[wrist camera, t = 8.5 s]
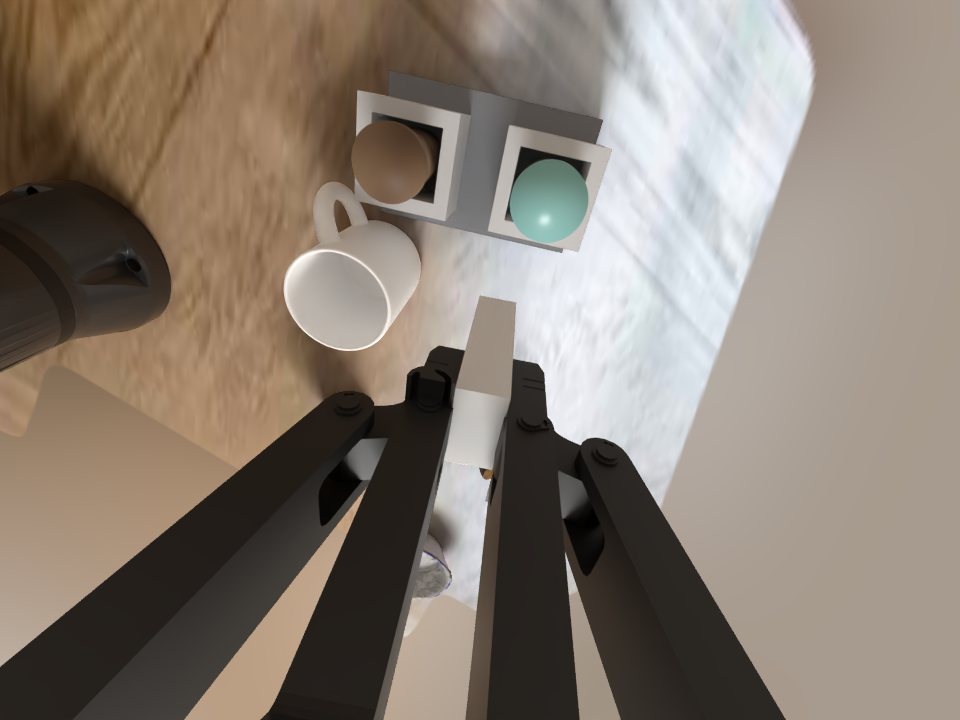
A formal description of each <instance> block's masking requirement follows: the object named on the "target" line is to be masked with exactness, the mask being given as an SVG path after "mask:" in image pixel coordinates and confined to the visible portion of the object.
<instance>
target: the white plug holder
mask: <svg viewBox="0 0 960 720" xmlns="http://www.w3.org/2000/svg"><path fill="white" fill-rule="evenodd" d="M377 121H395V122H399V123H401V124H404V125H406V126H407V127H409V128H415V127H420V128H424V129H427V130H429V131H430V132H432V133H433V134H434V135H435V136H436V137H437V138H438V140H439V142H440V143H441V150H440V158H439V165H438V173H437V175H436V176H435V177H434V178H433V179H431V180H429V181H428V182H426V183H425V184H424V186H423V188H422V189H421V190H420V192H419V193H418V194H417V195H415V196H414V197H413V198H411V199H409V200H408V201H406V202H403V203H400V204H385V203H382V202H379V201H377V200H375V199H374V198H372V197H371V196H369V195H368V194H367V193H366V192H365V191H364V190H363V189H362V187H361V186H360V184H359V183H358V181H357V179H356V177H355V193H354V200H355V201H360V202H364V203H368V204H373V205H377V206H381V211H383V212H387V213H391V214H395V215H400V216H404V217H408V218H413V219H417V220H421V221H426V222H430V223H434V224H439V225H443V226H447V227H452V228H456V229H460V230H465V231H469V232H473V233H478V234H482V235H486V236H491V237H495V238H499V239H504V240H508V241H512V242H517V243H521V244H525V245H530V246H534V247H538V248H543V249H547V250H551V251H555V252H560V253H562V251H563V249H567V250H572V251H576V252H578V251H579V248H580V245H581V242H582V239H583V236H584V233H585V230H586V227H587V224H588V221H589V218H590V215H591V212H592V209H593V206H594V203H595V200H596V197H597V194H598V191H599V188H600V185H601V182H602V179H603V176H604V173H605V169H606V166H607V163H608V160H609V157H610V154H611V151H612V149H610V148H607V147H604V146H601V145H596V142H597V138H598V135H599V132H600V129H601V125H602V122H603V120H601V119H597V118H593V117H589V116H584V115H580V114H576V113H571V112H567V111H563V110H559V109H554V108H550V107H546V106H541V105H537V104H533V103H528V102H524V101H520V100H516V99H511V98H507V97H503V96H498V95H494V94H490V93H486V92H481V91H477V90H473V89H468V88H464V87H460V86H455V85H451V84H447V83H443V82H438V81H434V80H430V79H425V78H421V77H417V76H413V75H408V74H404V73H400V72H395V71H391V70H389V83H388V96H386V95H381V94H376V93H371V92H365V91H360V90H357V123H356V137H357V135H358V134H359V132H360V131H361V130H362V129H363V128H364V127H366V126H367V125H369V124H371V123H373V122H377ZM542 158H552V159H556V160H561V161H564V162H566V163H568V164H570V165H571V166H573V167H574V168H575V169H576V170H577V171H578V172H579V173H580V175H581V176H582V178H583V179H584V181H585V184H586V186H587V190H588V208H587V212H586V215H585V217H584V219H583V221H582V223H581V224H580V226H579V227H578V228H577V229H576V230H575V231H574V232H573V233H572V234H571V235H569V236H568V237H566V238H564V239H562V240H560V241H557V242H552V243H541V242H537V241H533V240H531V239H529V238H527V237H526V236H524V235H523V234H522V233H521V232H520V231H519V230H518V228H517V227H516V225H515V224H514V222H513V219H512V216H511V212H510V197H511V193H512V189H513V186H514V184H515V182H516V180H517V178H518V177H519V176H520V174H521V173H522V172H523V171H524V170H525V169H526V168H527V167H528V166H529V165H530V164H531V163H533V162H534V161H536V160H538V159H542Z"/></svg>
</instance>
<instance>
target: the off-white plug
mask: <svg viewBox="0 0 960 720" xmlns="http://www.w3.org/2000/svg"><path fill="white" fill-rule="evenodd" d="M587 208H588V190H587V186H586V184H585V181H584V179H583V178H582V176H581V175H580V173H579V172H578V171H577V170H576V169H575V168H574V167H573V166H571V165H570V164H568V163H566V162H564V161H561V160H556V159H552V158H542V159H538V160H536V161H534V162H533V163H531V164H530V165H529V166H528V167H527V168H526V169H525V170H524V171H523V172H522V173H521V174H520V176H519V177H518V178H517V180H516V182H515V184H514V186H513V189H512V193H511V197H510V212H511V216H512V219H513V222H514V224H515V225H516V227H517V228H518V230H519V231H520V232H521V233H522V234H523V235H524V236H526V237H527V238H529V239H531V240H533V241H537V242H541V243H552V242H557V241H560V240H562V239H564V238H566V237H568V236H569V235H571V234H572V233H573V232H574V231H575V230H576V229H577V228H578V227H579V226H580V224H581V223H582V221H583V219H584V217H585V215H586V212H587Z"/></svg>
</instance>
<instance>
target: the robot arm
mask: <svg viewBox="0 0 960 720" xmlns="http://www.w3.org/2000/svg"><path fill="white" fill-rule="evenodd" d="M170 292H171V284H170V277H169V272H168V269H167V266H166V263H165V260H164V258H163V256H162V254H161V252H160V250H159V248H158V246H157V245H156V243H155V242H154V240H153V239H152V237H151V236H150V234H149V233H148V232H147V231H146V229H145V228H144V227H143V226H142V225H141V223H140V222H139V221H138V220H137V219H136V218H135V217H134V216H133V215H132V214H131V213H130V212H128V211H127V210H126V209H125V208H124V207H123V206H121V205H120V204H119V203H117V202H116V201H115V200H113V199H112V198H110V197H108V196H107V195H105V194H103V193H102V192H100V191H98V190H96V189H94V188H92V187H89V186H87V185H84V184H81V183H77V182H73V181H68V180H50V181H42V182H34V183H28V184H24V185H21V186H18V187H16V188H14V189H12V190H10V191H8V192H6V193H5V194H3V195H1V196H0V373H1V372H3V371H5V370H7V369H9V368H11V367H13V366H16V365H18V364H20V363H22V362H24V361H26V360H28V359H30V358H32V357H34V356H37V355H39V354H41V353H43V352H45V351H47V350H49V349H51V348H53V347H55V346H57V345H59V344H62V343H64V342H66V341H68V340H71V339H78V338H84V337H91V336H98V335H104V334H109V333H115V332H123V331H129V330H132V329H135V328H138V327H140V326H142V325H144V324H146V323H148V322H150V321H152V320H154V319H155V318H157V317H158V316H160V315H161V314H162V313H163V311H164V310H165V309H166V307H167V305H168V302H169V299H170ZM515 313H516V303H515V302H510V301H505V300H500V299H495V298H490V297H485V296H480V297H479V301H478V304H477V308H476V312H475V316H474V320H473V323H472V327H471V331H470V335H469V338H468V342H467V346H466V350H465V351H464V350H459V349H454V348H449V347H444V346H438V347H436V348H435V349H433V350H432V351H430V353H429V356H428V358H427V361H426V363H425V365H424V366H421V367H417V368H415V369H413V370H411V371H410V372H409V373H408V374H407V383H406V395H405V401H404V402H402V403H399V404H395V405H388V406H374V402H373V401H372V399H371V398H370V397H369V396H367V395H365V394H363V393H359V392H355V391H344V392H340V393H336V394H333V395H332V396H330V397H328V398H326V399H325V400H324V401H323V402H322V403H320V404H319V405H318V406H317V407H316V408H314V409H313V410H312V411H311V412H309V413H308V414H307V415H306V416H305V417H303V418H302V419H301V420H300V421H299V422H297V423H296V424H295V425H294V426H292V427H291V428H290V429H289V430H288V431H286V432H285V433H284V434H283V435H282V436H280V437H279V438H278V439H277V440H275V441H274V442H273V443H272V444H271V445H269V446H268V447H267V448H266V449H265V450H263V451H262V452H261V453H260V454H258V455H257V456H256V457H255V458H254V459H252V460H251V461H250V462H249V463H247V464H246V465H245V466H244V467H243V468H241V469H240V470H239V471H238V472H237V473H235V474H234V475H233V476H232V477H230V479H228V480H227V481H226V482H224V483H223V484H222V485H221V486H220V487H218V488H217V489H216V490H215V491H213V492H212V493H211V494H210V495H209V496H207V497H206V498H205V499H204V500H203V501H201V502H200V503H199V504H198V505H196V506H195V507H194V508H193V509H192V510H190V511H189V512H188V513H187V514H186V515H184V516H183V517H182V518H181V519H179V520H178V521H177V522H176V523H175V524H173V525H172V526H171V527H170V528H169V529H168V530H166V531H165V532H164V533H162V534H161V535H160V536H159V537H158V538H156V539H155V540H154V541H153V542H151V543H150V544H149V545H148V546H147V547H146V548H144V549H143V550H142V551H141V552H139V553H138V554H137V555H136V556H134V557H133V558H132V559H131V560H130V561H128V562H127V563H126V564H125V565H124V566H122V567H121V568H120V569H119V570H117V571H116V572H115V573H114V574H113V575H111V576H110V577H109V578H108V579H107V580H105V581H104V582H103V583H102V584H100V585H99V586H98V587H97V588H96V589H95V590H93V591H92V592H91V593H90V594H88V595H87V596H86V597H85V598H83V599H82V600H81V601H80V602H79V603H77V604H76V605H75V606H74V607H73V608H71V609H70V610H69V611H68V612H66V613H65V614H64V615H63V616H62V617H60V618H59V619H58V620H57V621H56V622H55V623H53V624H52V625H51V626H49V627H48V628H47V629H46V630H45V631H43V632H42V633H41V634H40V635H39V636H37V637H36V638H35V639H34V640H32V641H31V642H30V643H29V644H28V645H27V646H25V647H24V648H23V649H22V650H21V651H19V652H18V653H17V654H15V655H14V656H13V657H12V658H11V659H9V660H8V661H7V662H6V663H5V664H3V665H2V666H1V667H0V720H184V719H185V718H186V716H187V715H188V714H189V713H190V711H191V710H192V709H193V707H194V706H195V705H196V704H197V702H198V701H199V700H200V698H201V697H202V696H203V695H204V693H205V692H206V691H207V690H208V688H209V687H210V686H211V685H212V683H213V682H214V680H215V679H216V678H217V677H218V676H219V674H220V673H221V672H222V671H223V669H224V668H225V667H226V665H227V664H228V663H229V662H230V660H231V659H232V658H233V656H234V655H235V654H236V653H237V651H238V650H239V649H240V648H241V646H242V645H243V644H244V642H245V641H246V640H247V639H248V637H249V636H250V635H251V634H252V632H253V631H254V630H255V628H256V627H257V626H258V625H259V623H260V622H261V621H262V620H263V618H264V617H265V616H266V615H267V613H268V612H269V611H270V609H271V608H272V607H273V606H274V604H275V603H276V602H277V601H278V599H279V598H280V597H281V595H282V594H283V593H284V591H285V590H286V589H287V588H288V587H289V585H290V584H291V583H292V581H293V580H294V579H295V578H296V576H297V575H298V574H299V573H300V571H301V570H302V569H303V567H304V566H305V565H306V564H307V562H308V561H309V560H310V558H311V557H312V556H313V555H314V553H315V552H316V551H317V550H318V548H319V547H320V545H322V543H323V542H324V541H325V539H326V538H327V537H328V536H329V534H330V533H331V532H332V531H333V529H334V528H335V527H336V525H337V524H338V523H339V522H340V520H341V519H342V518H343V516H344V515H345V514H346V513H347V511H348V510H349V509H350V508H351V506H352V505H353V504H354V502H355V501H356V500H357V499H358V497H359V496H360V495H361V494H362V492H363V491H364V490H365V488H366V487H367V486H368V487H367V489H366V491H365V494H364V496H363V498H362V501H361V503H360V505H359V508H358V510H357V512H356V515H355V517H354V519H353V522H352V524H351V526H350V529H349V531H348V533H347V536H346V538H345V540H344V543H343V545H342V547H341V550H340V552H339V554H338V557H337V559H336V561H335V564H334V566H333V568H332V571H331V573H330V575H329V577H328V580H327V582H326V585H325V587H324V589H323V591H322V594H321V596H320V598H319V601H318V603H317V605H316V608H315V610H314V613H313V615H312V617H311V619H310V622H309V624H308V627H307V629H306V631H305V633H304V636H303V638H302V640H301V643H300V645H299V647H298V650H297V652H296V654H295V657H294V659H293V661H292V664H291V666H290V668H289V671H288V673H287V675H286V678H285V680H284V682H283V684H282V687H281V689H280V692H279V694H278V696H277V698H276V700H275V702H274V704H273V705H272V707H271V709H270V710H269V712H268V713H267V714H266V715H265V716H264V717H263V718H262V719H261V720H383V718H384V714H385V710H386V706H387V701H388V697H389V693H390V689H391V685H392V680H393V676H394V672H395V668H396V664H397V659H398V655H399V651H400V647H401V642H402V638H403V634H404V630H405V625H406V621H407V617H408V613H409V609H410V604H411V600H412V596H413V592H414V587H415V583H416V579H417V575H418V570H419V566H420V562H421V558H422V554H423V549H424V545H425V541H426V537H427V532H428V528H429V524H430V520H431V515H432V511H433V507H434V503H435V499H436V494H437V490H438V486H439V482H440V477H441V473H442V467H443V461H448V462H454V463H459V464H464V465H469V466H474V467H479V468H484V469H489V470H492V469H493V474H492V478H491V482H490V485H489V489H488V493H487V497H486V500H485V501H487V502H488V507H487V517H486V526H485V536H484V546H483V555H482V565H481V575H480V585H479V594H478V604H477V614H476V624H475V633H474V643H473V653H472V663H471V672H470V682H469V691H468V701H467V710H466V720H579V708H578V697H577V685H576V673H575V662H574V651H573V640H572V628H571V617H570V605H569V593H568V582H567V570H566V559H565V552H566V555H567V558H568V561H569V564H570V567H571V570H572V573H573V576H574V579H575V582H576V585H577V588H578V591H579V594H580V597H581V600H582V603H583V606H584V609H585V613H586V615H587V619H588V621H589V624H590V628H591V631H592V633H593V637H594V640H595V643H596V646H597V649H598V652H599V654H600V658H601V661H602V664H603V667H604V670H605V673H606V676H607V679H608V682H609V685H610V688H611V691H612V694H613V697H614V700H615V703H616V706H617V709H618V712H619V715H620V718H621V720H786V719H785V718H784V716H783V714H782V712H781V711H780V709H779V707H778V706H777V704H776V702H775V701H774V699H773V697H772V696H771V694H770V692H769V691H768V689H767V687H766V686H765V684H764V683H763V681H762V679H761V677H760V676H759V674H758V673H757V671H756V669H755V667H754V666H753V664H752V662H751V661H750V659H749V657H748V656H747V654H746V652H745V651H744V649H743V647H742V646H741V644H740V642H739V641H738V639H737V637H736V635H735V634H734V632H733V631H732V629H731V627H730V626H729V624H728V622H727V621H726V619H725V617H724V615H723V614H722V612H721V610H720V609H719V607H718V606H717V604H716V602H715V601H714V599H713V597H712V595H711V594H710V592H709V590H708V589H707V587H706V585H705V584H704V582H703V580H702V579H701V577H700V575H699V574H698V572H697V570H696V569H695V567H694V565H693V564H692V562H691V560H690V559H689V557H688V555H687V554H686V552H685V550H684V548H683V547H682V545H681V543H680V542H679V540H678V538H677V537H676V535H675V533H674V532H673V530H672V529H671V527H670V525H669V523H668V522H667V520H666V519H665V517H664V515H663V513H662V512H661V510H660V508H659V507H658V505H657V503H656V502H655V500H654V498H653V497H652V495H651V493H650V492H649V490H648V488H647V487H646V485H645V483H644V482H643V480H642V478H641V477H640V475H639V473H638V471H637V470H636V468H635V466H634V465H633V463H632V461H631V460H630V458H629V456H628V455H627V454H626V453H625V452H624V450H623V449H622V448H620V447H619V446H618V445H616V444H615V443H613V442H610V441H608V440H606V439H601V438H589V439H587V440H585V441H584V442H582V445H578V444H576V443H574V442H571V441H569V440H567V439H565V438H563V437H561V436H560V435H559V434H557V433H556V432H555V431H554V427H553V424H552V422H551V421H550V419H549V418H548V417H547V406H546V392H545V384H544V383H545V378H544V372H543V371H542V369H541V368H540V366H539V365H538V364H536V363H531V362H525V361H520V360H515V359H513V349H514V331H515ZM493 465H494V468H493Z"/></svg>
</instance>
